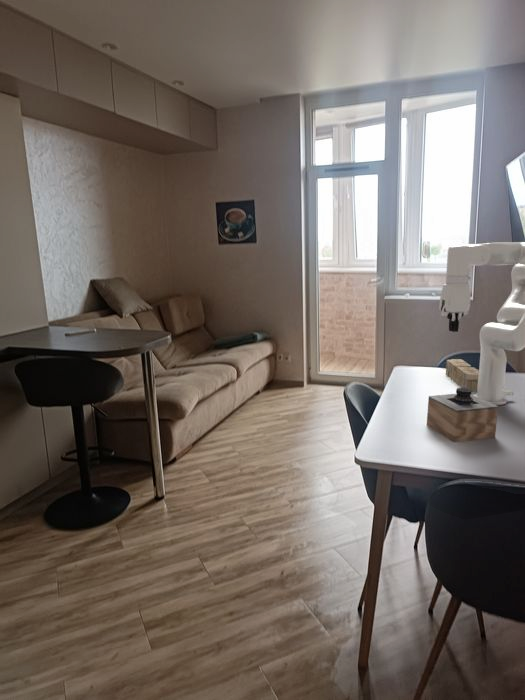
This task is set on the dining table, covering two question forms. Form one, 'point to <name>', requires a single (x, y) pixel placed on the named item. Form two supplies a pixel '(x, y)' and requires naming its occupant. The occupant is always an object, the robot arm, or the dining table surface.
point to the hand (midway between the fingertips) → (453, 331)
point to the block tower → (462, 374)
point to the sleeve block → (462, 418)
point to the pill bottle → (463, 396)
